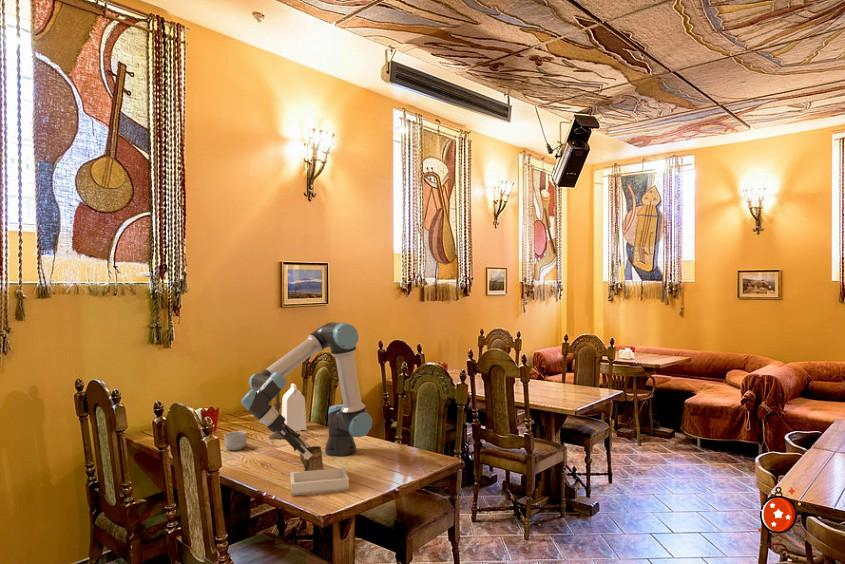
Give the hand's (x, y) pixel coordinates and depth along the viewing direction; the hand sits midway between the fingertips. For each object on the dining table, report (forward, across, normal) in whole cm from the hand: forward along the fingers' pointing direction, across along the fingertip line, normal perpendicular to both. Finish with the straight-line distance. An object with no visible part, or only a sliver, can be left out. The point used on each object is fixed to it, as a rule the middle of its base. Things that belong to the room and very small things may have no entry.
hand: (309, 453), depth 238 cm
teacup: (-16, -54, -30) cm, 64 cm away
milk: (+4, -87, -10) cm, 88 cm away
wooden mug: (+7, 0, -7) cm, 10 cm away
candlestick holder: (-2, -70, -16) cm, 72 cm away
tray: (+9, +16, -5) cm, 19 cm away
